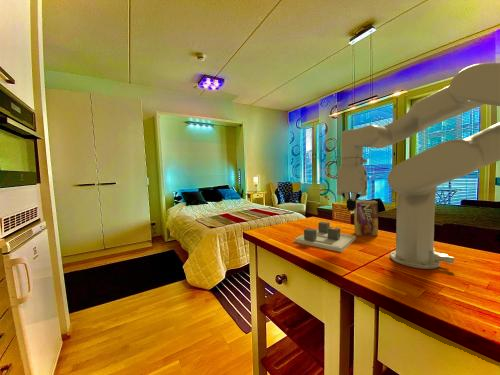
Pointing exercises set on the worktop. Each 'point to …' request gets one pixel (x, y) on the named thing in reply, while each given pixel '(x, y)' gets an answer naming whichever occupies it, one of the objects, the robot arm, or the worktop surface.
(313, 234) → the block
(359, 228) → the candy box
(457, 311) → the worktop surface
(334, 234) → the block
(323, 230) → the block
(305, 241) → the panel
